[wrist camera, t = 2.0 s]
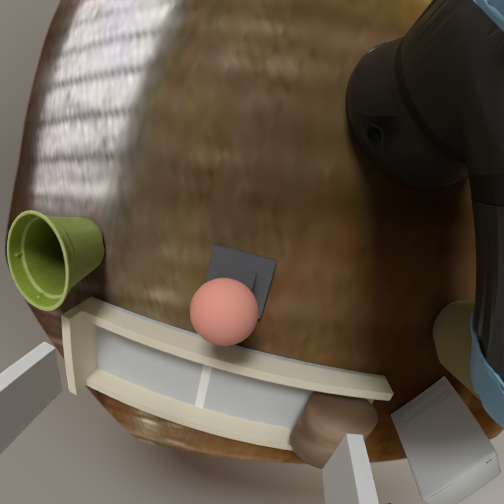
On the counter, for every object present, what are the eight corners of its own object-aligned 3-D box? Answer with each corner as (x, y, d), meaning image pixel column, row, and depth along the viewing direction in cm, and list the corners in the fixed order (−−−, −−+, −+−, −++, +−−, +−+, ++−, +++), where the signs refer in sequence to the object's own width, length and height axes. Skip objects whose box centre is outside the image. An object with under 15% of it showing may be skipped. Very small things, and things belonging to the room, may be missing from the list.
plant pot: (97, 300, 31) (51, 330, 22) (48, 250, 30) (-1, 266, 22) (132, 238, 29) (82, 256, 20) (76, 187, 28) (22, 190, 20)
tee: (215, 243, 28) (201, 255, 23) (276, 260, 28) (275, 275, 23) (202, 300, 29) (188, 321, 24) (260, 316, 29) (256, 340, 24)
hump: (306, 381, 30) (311, 430, 22) (368, 391, 30) (385, 436, 22) (289, 416, 31) (289, 465, 24) (348, 424, 31) (358, 470, 23)
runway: (91, 296, 31) (61, 315, 25) (384, 375, 29) (400, 407, 23) (92, 367, 33) (69, 391, 27) (347, 437, 32) (354, 470, 26)
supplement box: (387, 413, 30) (420, 502, 16) (444, 373, 29) (498, 449, 14) (410, 440, 31) (438, 515, 17) (459, 405, 29) (502, 473, 15)
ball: (206, 262, 23) (187, 281, 18) (267, 279, 23) (264, 303, 18) (195, 317, 24) (176, 346, 19) (252, 334, 24) (245, 366, 19)
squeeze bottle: (439, 364, 28) (509, 463, 11) (411, 326, 28) (497, 436, 10) (484, 320, 27) (572, 395, 9) (461, 276, 26) (574, 347, 8)
